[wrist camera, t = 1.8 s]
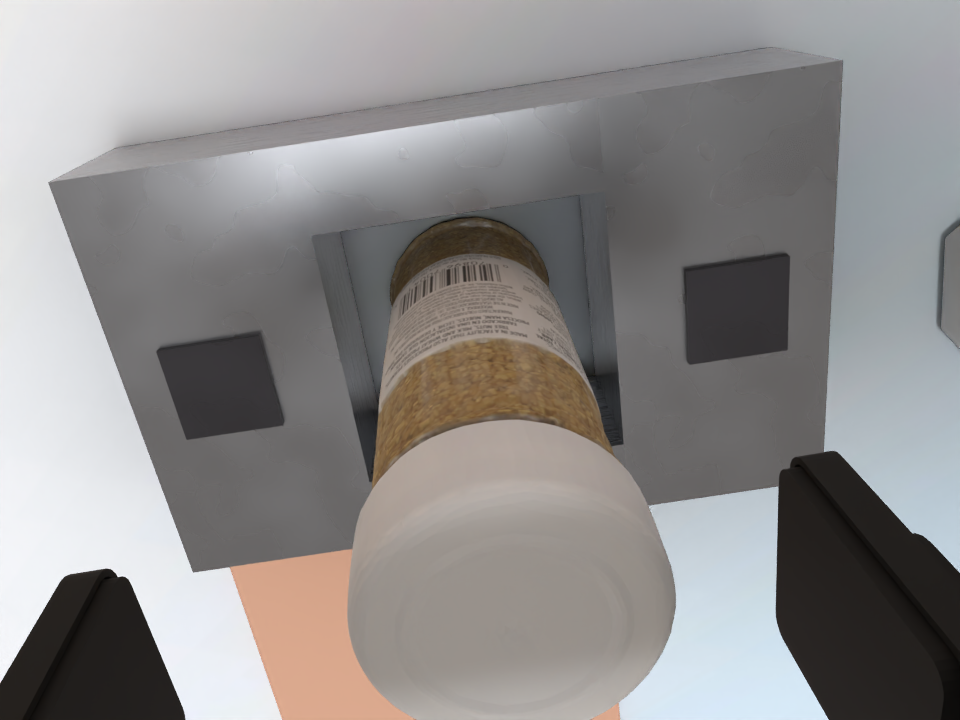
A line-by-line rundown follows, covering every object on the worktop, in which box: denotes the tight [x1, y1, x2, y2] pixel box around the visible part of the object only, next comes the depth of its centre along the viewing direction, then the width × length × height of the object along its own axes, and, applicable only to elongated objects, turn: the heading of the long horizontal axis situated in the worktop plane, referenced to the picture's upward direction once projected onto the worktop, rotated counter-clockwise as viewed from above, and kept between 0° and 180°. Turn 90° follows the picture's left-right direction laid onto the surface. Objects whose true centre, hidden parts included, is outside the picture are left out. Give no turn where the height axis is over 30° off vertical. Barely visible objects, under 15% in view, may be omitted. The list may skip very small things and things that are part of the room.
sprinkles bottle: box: [347, 217, 676, 720], centre depth 17 cm, size 5×5×13 cm
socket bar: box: [48, 47, 843, 572], centre depth 21 cm, size 17×11×4 cm, turn 98°
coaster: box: [230, 549, 620, 720], centre depth 28 cm, size 12×12×1 cm
